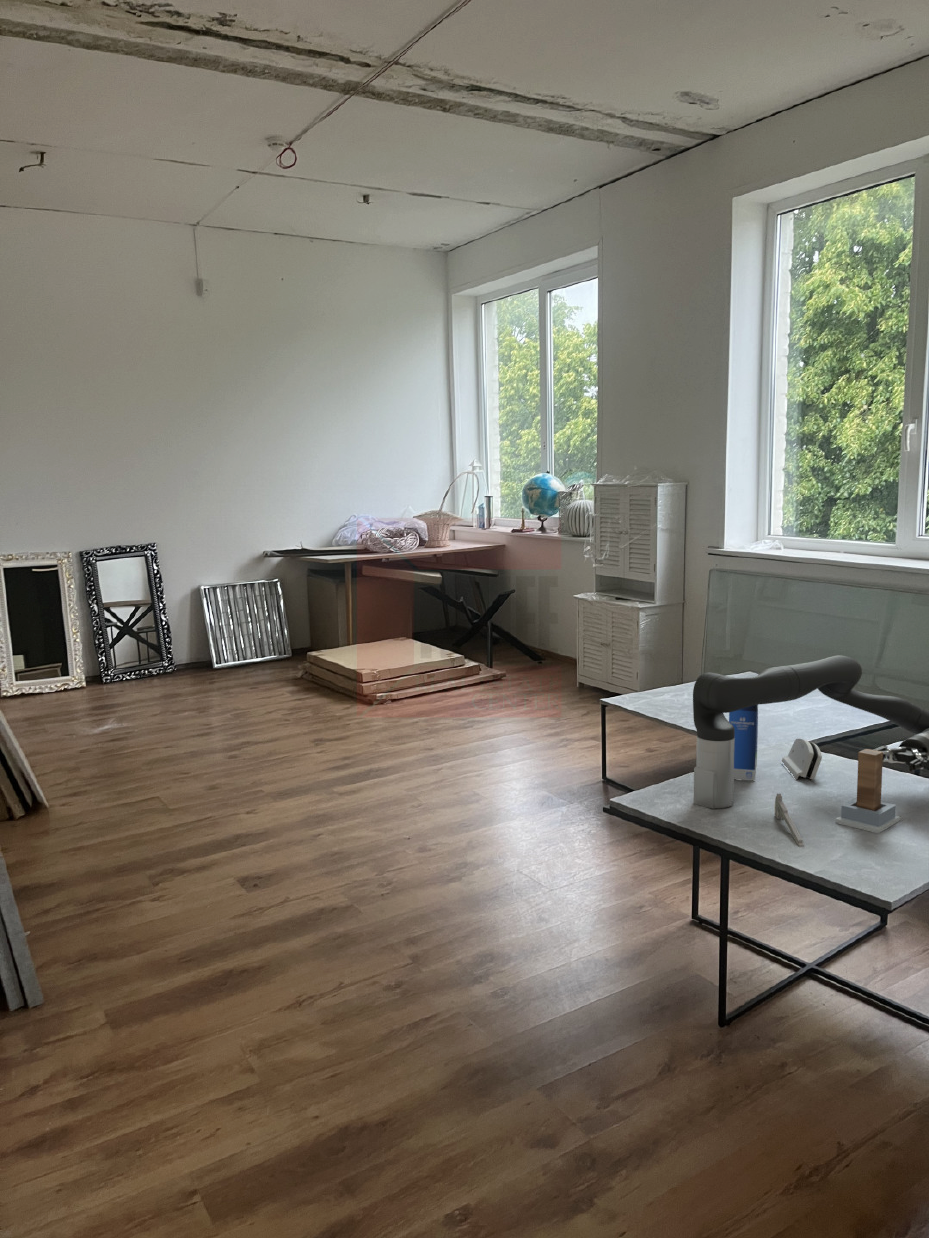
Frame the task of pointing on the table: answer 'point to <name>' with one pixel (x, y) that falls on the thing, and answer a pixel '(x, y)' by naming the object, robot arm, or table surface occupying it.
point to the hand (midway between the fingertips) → (892, 764)
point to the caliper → (787, 819)
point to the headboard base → (868, 816)
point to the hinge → (803, 759)
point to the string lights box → (745, 742)
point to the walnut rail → (869, 779)
